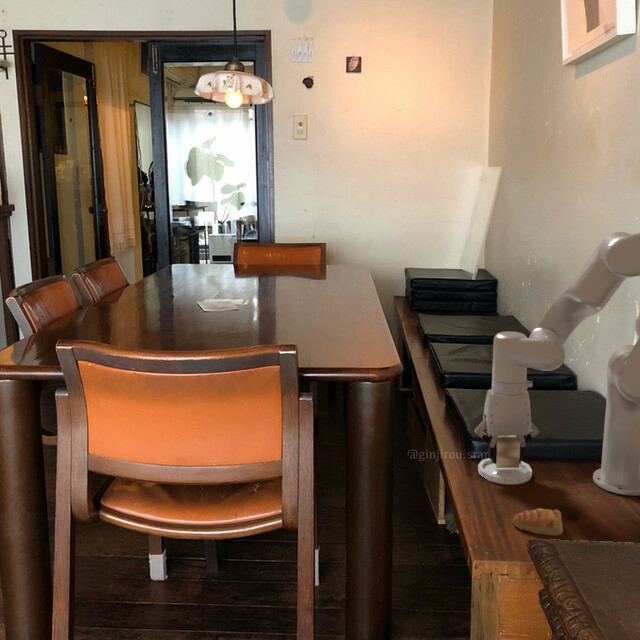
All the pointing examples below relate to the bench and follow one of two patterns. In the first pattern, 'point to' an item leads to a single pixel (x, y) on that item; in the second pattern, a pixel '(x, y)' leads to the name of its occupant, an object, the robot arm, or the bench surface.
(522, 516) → the pastry
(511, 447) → the maple block
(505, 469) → the dish
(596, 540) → the bench surface
